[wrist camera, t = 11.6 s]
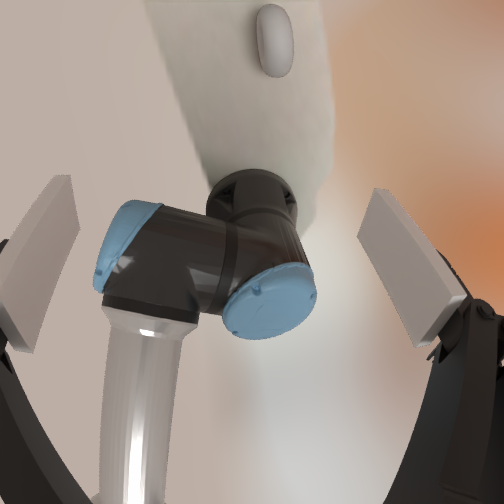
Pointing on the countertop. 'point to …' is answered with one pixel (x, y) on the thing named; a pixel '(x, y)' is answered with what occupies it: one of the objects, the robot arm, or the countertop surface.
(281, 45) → the grey rounded flat slab
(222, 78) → the countertop surface
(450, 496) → the robot arm
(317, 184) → the countertop surface
